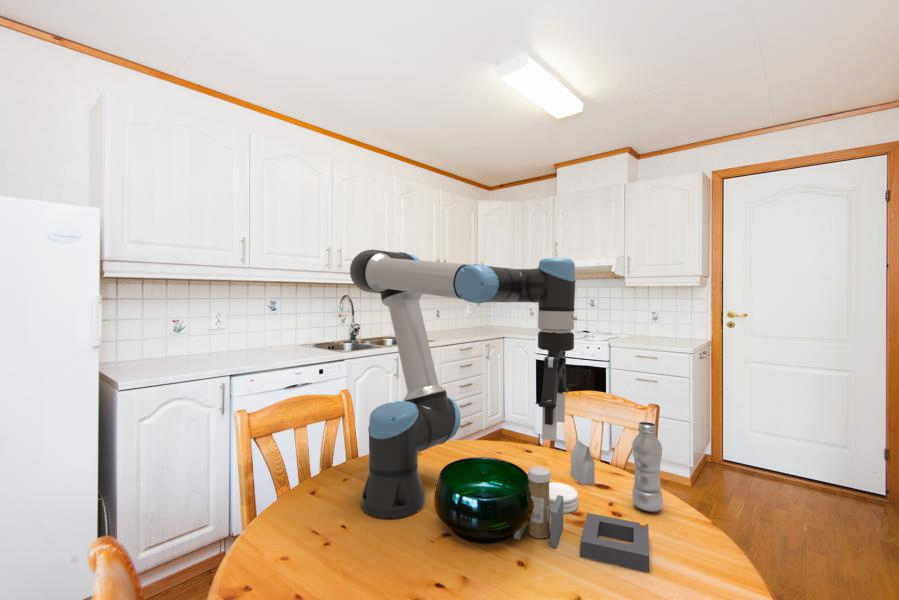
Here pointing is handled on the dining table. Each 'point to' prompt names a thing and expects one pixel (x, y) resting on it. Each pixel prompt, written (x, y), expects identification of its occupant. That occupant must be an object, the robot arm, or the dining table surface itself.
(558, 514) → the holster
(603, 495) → the dining table surface
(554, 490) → the white round stack
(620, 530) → the port block
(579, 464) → the grey gabled carton
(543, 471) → the sprinkles bottle
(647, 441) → the plastic bottle
